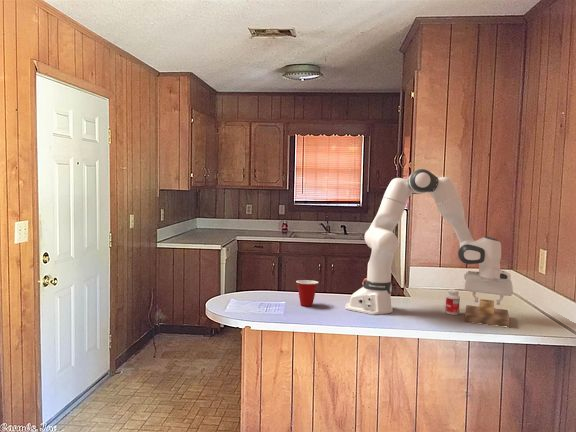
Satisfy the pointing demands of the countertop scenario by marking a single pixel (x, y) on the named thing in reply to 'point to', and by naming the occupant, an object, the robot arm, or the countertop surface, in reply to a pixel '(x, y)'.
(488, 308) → the oak block
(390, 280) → the robot arm
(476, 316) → the walnut block
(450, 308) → the pill bottle
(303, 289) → the plastic cup
